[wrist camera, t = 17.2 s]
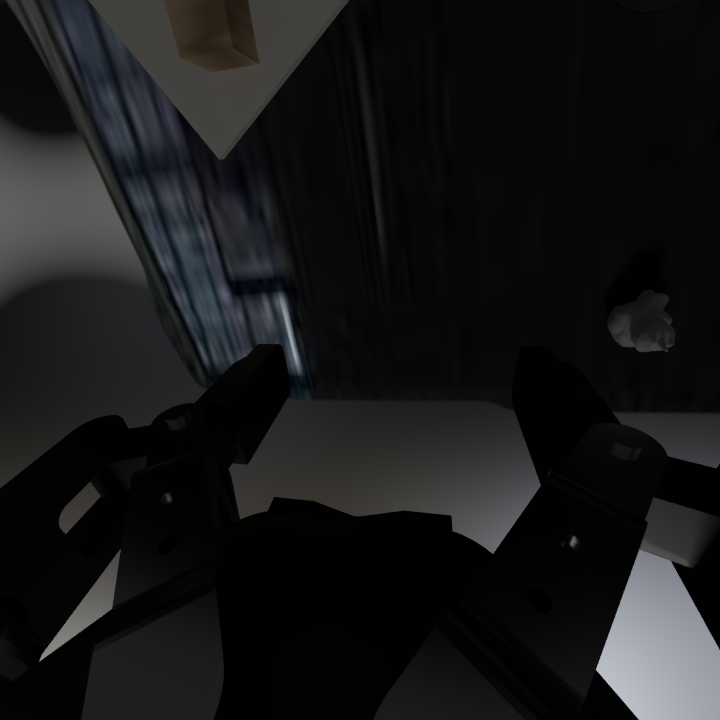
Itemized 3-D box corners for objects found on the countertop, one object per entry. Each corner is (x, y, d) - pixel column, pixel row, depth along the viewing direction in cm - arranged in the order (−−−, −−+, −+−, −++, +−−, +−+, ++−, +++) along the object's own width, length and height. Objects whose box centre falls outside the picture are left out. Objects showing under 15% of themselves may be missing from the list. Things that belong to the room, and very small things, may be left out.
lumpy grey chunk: (590, 333, 39) (624, 368, 33) (617, 280, 36) (661, 306, 29) (639, 340, 39) (684, 377, 32) (670, 286, 35) (728, 315, 29)
